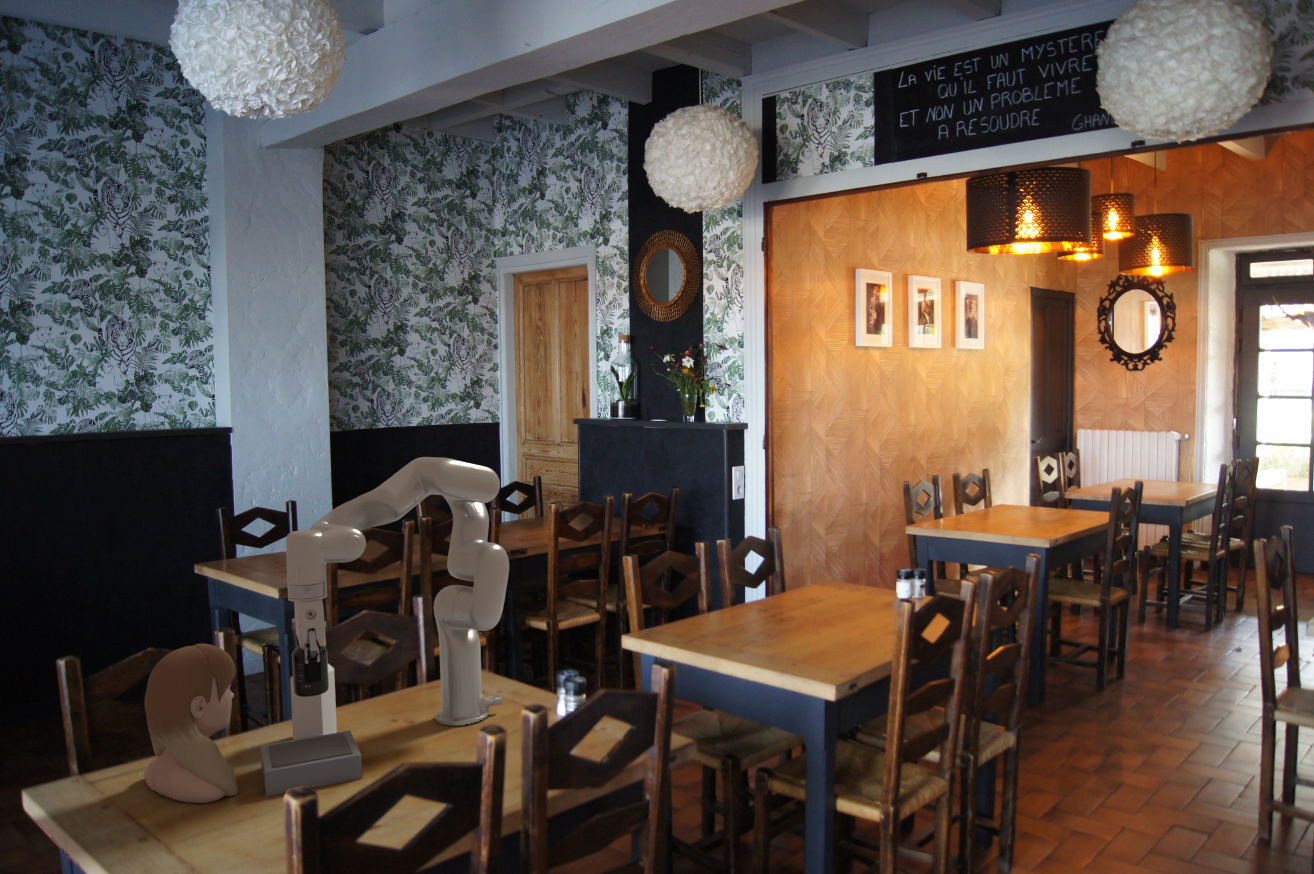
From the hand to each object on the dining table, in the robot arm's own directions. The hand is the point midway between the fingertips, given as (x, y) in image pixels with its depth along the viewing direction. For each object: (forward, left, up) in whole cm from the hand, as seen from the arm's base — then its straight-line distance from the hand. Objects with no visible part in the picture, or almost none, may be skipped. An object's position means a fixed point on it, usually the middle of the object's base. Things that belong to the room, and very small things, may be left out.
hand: (310, 676), depth 196 cm
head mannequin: (+22, -5, -20) cm, 30 cm away
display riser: (+1, 0, -20) cm, 20 cm away
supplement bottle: (0, 0, -3) cm, 3 cm away
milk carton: (-2, -21, -20) cm, 29 cm away
